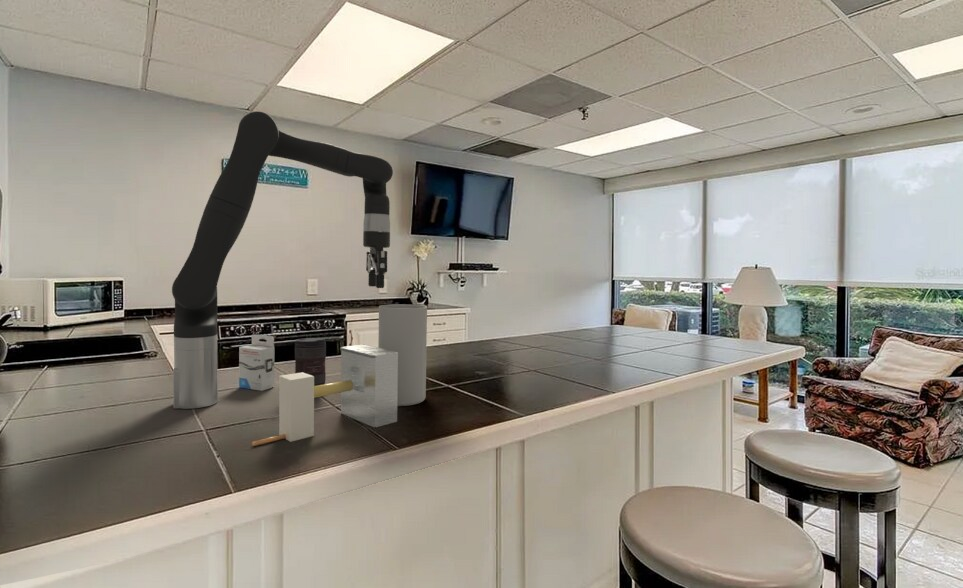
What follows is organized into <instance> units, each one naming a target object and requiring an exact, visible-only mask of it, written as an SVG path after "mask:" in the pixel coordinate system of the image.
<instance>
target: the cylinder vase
mask: <svg viewBox="0 0 963 588" xmlns="http://www.w3.org/2000/svg"><path fill="white" fill-rule="evenodd" d="M427 325H428V306H427V305H422V304H421V305H420V304H405V303H403V304H396V303H395V304H394V303H393V304H382V305H379V306H378V346H377V348H381V349H385V350H390V351H394V352H398V391H397V407H406V406H409V407H410V406H415V405H418V404H420V403H422V402H424V401H425V400H426V397H427V395H426V394H427V388H426V387H427V343H428V341H427V337H428V335H427V334H428V332H427V331H428V330H427V329H428V327H427Z"/></svg>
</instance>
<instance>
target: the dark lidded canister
mask: <svg viewBox="0 0 963 588" xmlns="http://www.w3.org/2000/svg"><path fill="white" fill-rule="evenodd" d="M326 356H327V343H326V338H321V337H320V338H319V337H305V338H299V339H295V343H294V360H295V361H294V362H295V363H294V364H295V365H294V372H295V373H301V372H303V373H306V374H309V375H312V376H314V386H318V385H324V384H326V375H327V374H326ZM295 373H294V374H295Z"/></svg>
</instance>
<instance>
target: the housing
mask: <svg viewBox="0 0 963 588" xmlns="http://www.w3.org/2000/svg"><path fill="white" fill-rule="evenodd" d="M339 351H341V355H340V356H341V357H340V358H341V359H340V360H341V363H340V364H341V365H340V366H341V368H340V369H341V371H340V373H341V375H340V376H341V379H340V382H341V381H346V380H351V381H352V383H353V389H352V390H351V391H346V392H341V393H340V400H341V401H340V413H341V414H342V415H344V416H346V417H348V418H351V419H354V420H356V421H359V422H361V423H363V424H365V425H368V426H370V427H373V428H375V427H376V428H379V427H383V426H385V425H389V424H394V423H397V422H398V406H397V391H398V352H394V351H390V350H385V349H381V348H378V347H376V346H372V345H371V346H370V345H367V344H356V345H347V346H341V347H340V348H339Z"/></svg>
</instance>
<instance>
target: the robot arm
mask: <svg viewBox="0 0 963 588" xmlns="http://www.w3.org/2000/svg"><path fill="white" fill-rule="evenodd" d="M268 157H273V158H281V159H286V160H291V161H296V162H299V163H303V164H307V165H309V166H312V167H317V168H320V169H322V170H325V171H328V172H331V173H335V174H337V175H342V176H345V177H356V178H361V179H362V187H363V195H364V209H363V210H364V217H363V225H362V226H363V230H362V231H363V232H362V233H363V237H362V239H363V240H362V245H363V247H365V248H369V251H368V250H367V251H366V264H365V265H366V266H365V267H366V272H367V274H368V280H367V281H368V283H367V284H368V285H367V286H369V287H375V288H376V289H383V288H384V287H385V275H386V273H387V272H388V251H387V250H384V249H388V248H390V246H391V219H390V218H391V217H390V203H391V202H390V197H389V196H388V195H387V183H388V182H389V181H391V179H392V177H393V173H394V170H393V167H392V165H391V163H390V162H389V161H387V160H385V158H382V157H378V156H375V155H370V154H364V153H359V152H355V151H352V150H350V149H347V148H344V147H340V146H339V145H338V146H337V145H335V144H332V143H326V142H321V141H314V140H310V139H309V140H308V139H305V138H300V137H296V136H293V135H291V134H287V133H286V132H284V131H281V130H279V128H278V125H277V122H276V121H275V119H274V118H273V117H272V116H271V115H269V114H268V113H266V112H263V111H252V112H249V113H247V114H245V115H244V116H243V117H242V118H241V119H240V121H239V124H238V128H237V132H236V136H235V139H234V144H233V147H232V150H231V154H230V156H229V159H228V160H227V162H226V164H225V166H224V168H223V169H222V171H221V173H220V175H219V177H218V178H217V180H216V182H215V183H214V187H213V189H212V190H211V193H210V194H209V197H208V200H207V202H206V205H205V207H204V209H203V213H202V215H201V219H200V220H199V221H200V222H199V225H198V228H197V230H196V234H195V239H194V242H193V245H192V249H191V250H190V253H189V254H188V256H187V258H186V260H185V262H184V264H183V266H182V268H181V270H180V271H179V273H178V274H177V276H176V277H175V279H174V281H173V283H172V286H171V293H172V297H173V299H174V322H173V369H172V386H173V387H172V388H173V389H172V392H173V393H172V394H173V395H172V397H173V398H172V399H173V403H172V404H173V409H182V410H183V409H184V410H185V409H186V410H187V409H199V408H200V409H201V408H206V407H210V406H213V405H215V404H217V403H218V398H219V397H218V394H219V392H218V391H219V390H218V389H219V388H218V382H219V381H218V283H219V279H220V276H221V272H222V269H223V265H224V263H225V261H226V259H227V257H228V254H229V252H230V251H231V250H232V248H233V246H234V244H236V243H235V242H236V241H237V239H238V238H239V236H240V234H241V232H242V230H243V228H244V225H245V223H246V221H247V218H248V215H249V213H250V210H251V208H252V205H253V203H254V198H255V194H256V192H257V191H256V190H257V186H258V182H259V178H260V174H261V171H262V169H263V167H264V165H265V162H266V160H267V159H268Z"/></svg>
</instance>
